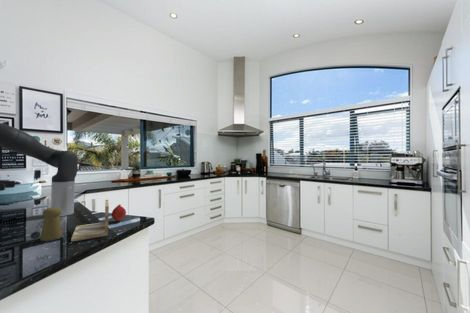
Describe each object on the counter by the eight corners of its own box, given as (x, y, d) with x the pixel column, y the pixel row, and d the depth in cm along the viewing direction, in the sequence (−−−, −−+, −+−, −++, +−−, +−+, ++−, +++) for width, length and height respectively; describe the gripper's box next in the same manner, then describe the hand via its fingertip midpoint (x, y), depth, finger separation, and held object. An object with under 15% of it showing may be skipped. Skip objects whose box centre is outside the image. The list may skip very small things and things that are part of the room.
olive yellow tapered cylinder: (49, 241, 71) (50, 210, 71) (35, 240, 72) (36, 209, 72) (66, 235, 77) (67, 206, 77) (53, 234, 78) (54, 205, 78)
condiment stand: (76, 228, 84) (77, 202, 85) (107, 224, 90) (108, 199, 91) (71, 241, 71) (72, 210, 71) (107, 235, 77) (108, 206, 77)
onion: (110, 224, 91) (110, 206, 91) (112, 220, 96) (112, 203, 96) (125, 222, 93) (125, 205, 93) (126, 219, 98) (126, 202, 99)
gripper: (-88, 177, 54) (1, 175, 63) (-53, 174, 66) (18, 173, 75) (-90, 205, 54) (0, 200, 63) (-55, 197, 66) (17, 193, 74)
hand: (10, 185), depth 69 cm, fingers open, 8 cm apart
